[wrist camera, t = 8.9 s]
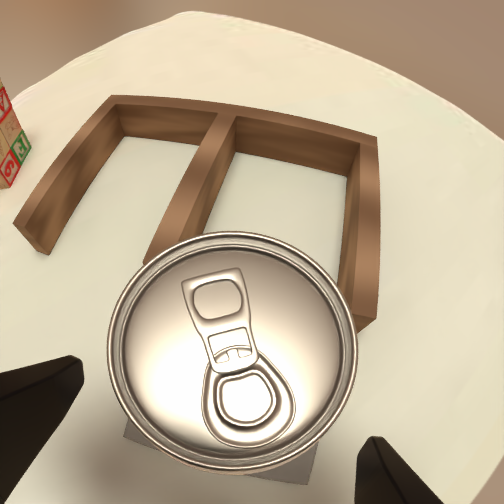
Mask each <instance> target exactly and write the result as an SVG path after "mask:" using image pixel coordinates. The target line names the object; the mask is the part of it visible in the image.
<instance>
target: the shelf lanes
mask: <svg viewBox="0 0 504 504" xmlns="http://www.w3.org/2000/svg"><path fill="white" fill-rule="evenodd" d="M124 136H132V137H141V138H150V139H158V140H166V141H173V142H181V143H188V144H194V145H200V146H199V148H198V150H197V151H196V153H195V155H194V157H193V159H192V161H191V163H190V165H189V166H188V168H187V170H186V172H185V174H184V176H183V178H182V180H181V182H180V184H179V186H178V188H177V190H176V192H175V194H174V196H173V198H172V200H171V202H170V204H169V206H168V208H167V210H166V212H165V214H164V216H163V218H162V220H161V222H160V224H159V227H158V229H157V231H156V233H155V235H154V237H153V240H152V242H151V244H150V246H149V248H148V251H147V253H146V255H145V257H144V260H143V262H142V263H143V264H146V263H147V262H148V261H149V260H150V259H151V258H153V257H154V256H155V255H157V254H158V253H160V252H161V251H163V250H164V249H166V248H168V247H170V246H171V245H173V244H175V243H178V242H180V241H182V240H185V239H188V238H190V237H194V236H197V235H201V234H202V233H203V230H204V228H205V225H206V222H207V220H208V217H209V215H210V212H211V210H212V207H213V205H214V202H215V200H216V197H217V195H218V192H219V190H220V188H221V185H222V183H223V180H224V178H225V176H226V173H227V171H228V168H229V166H230V164H231V161H232V159H233V157H234V154H235V152H241V153H247V154H252V155H257V156H262V157H267V158H272V159H276V160H281V161H285V162H290V163H294V164H299V165H303V166H307V167H312V168H316V169H320V170H324V171H328V172H332V173H336V174H339V175H343V176H347V185H346V200H345V214H344V226H343V236H342V247H341V256H340V265H339V274H338V282H337V286H338V287H339V289H340V290H341V292H342V294H343V295H344V297H345V299H346V301H347V303H348V305H349V308H350V310H351V313H352V316H353V319H354V323H355V327H356V332H357V333H359V332H360V331H361V330H362V329H364V328H365V327H366V326H368V325H369V324H370V323H371V322H373V321H374V320H375V319H376V316H377V304H378V289H379V270H380V180H379V161H378V146H377V137H375V136H372V135H368V134H365V133H362V132H358V131H355V130H351V129H347V128H344V127H340V126H336V125H332V124H328V123H324V122H320V121H316V120H312V119H307V118H303V117H298V116H294V115H289V114H284V113H279V112H274V111H268V110H263V109H257V108H251V107H245V106H239V105H232V104H225V103H217V102H209V101H201V100H191V99H181V98H169V97H154V96H133V95H111V96H110V97H109V98H108V99H107V100H106V101H105V102H104V103H103V104H102V105H101V106H100V107H99V108H98V109H97V110H96V112H95V113H94V114H93V115H92V116H91V117H90V118H89V119H88V120H87V122H86V123H85V124H84V125H83V126H82V127H81V128H80V130H79V131H78V132H77V133H76V134H75V136H74V137H73V138H72V139H71V140H70V142H69V143H68V144H67V145H66V147H65V148H64V149H63V150H62V152H61V153H60V154H59V156H58V157H57V158H56V159H55V161H54V162H53V163H52V165H51V166H50V167H49V169H48V170H47V172H46V173H45V174H44V176H43V177H42V179H41V180H40V181H39V183H38V184H37V186H36V187H35V189H34V190H33V192H32V193H31V195H30V196H29V198H28V199H27V201H26V202H25V204H24V205H23V207H22V209H21V210H20V212H19V214H18V215H17V217H16V218H15V220H14V222H13V224H14V225H15V227H16V228H17V229H18V230H19V231H20V232H21V234H22V235H23V236H24V237H25V238H26V239H27V240H28V242H29V243H30V244H31V245H32V246H33V247H34V248H35V249H36V250H37V251H38V252H41V253H44V254H47V255H49V254H50V252H51V250H52V248H53V247H54V245H55V243H56V241H57V239H58V237H59V235H60V234H61V232H62V230H63V228H64V227H65V225H66V223H67V221H68V220H69V218H70V216H71V214H72V213H73V211H74V209H75V208H76V206H77V204H78V203H79V201H80V200H81V198H82V196H83V195H84V193H85V192H86V190H87V189H88V187H89V185H90V184H91V182H92V181H93V179H94V178H95V176H96V175H97V173H98V172H99V170H100V169H101V167H102V166H103V165H104V163H105V162H106V160H107V159H108V157H109V156H110V155H111V153H112V152H113V151H114V149H115V148H116V146H117V145H118V144H119V142H120V141H121V140H122V138H123V137H124Z"/></svg>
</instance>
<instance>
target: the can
mask: <svg viewBox="0 0 504 504" xmlns="http://www.w3.org/2000/svg"><path fill="white" fill-rule="evenodd" d="M107 364H108V371H109V375H110V379H111V383H112V386H113V389H114V392H115V394H116V397H117V399H118V401H119V403H120V405H121V407H122V409H123V410H124V412H125V414H126V415H127V417H128V418H129V419H130V421H131V422H132V423H133V425H134V426H135V427H136V428H137V429H138V430H139V432H140V433H141V434H142V435H143V436H144V437H146V438H147V439H148V440H149V441H150V442H151V443H152V444H153V445H155V446H156V447H157V448H158V449H160V450H161V451H162V452H164V453H165V454H167V455H168V456H170V457H171V458H173V459H175V460H177V461H179V462H181V463H183V464H185V465H187V466H190V467H192V468H195V469H199V470H202V471H206V472H211V473H217V474H226V475H242V474H252V473H258V472H262V471H266V470H270V469H273V468H276V467H278V466H281V465H283V464H285V463H287V462H289V461H291V460H293V459H295V458H297V457H298V456H300V455H301V454H303V453H304V452H306V451H307V450H308V449H310V448H311V447H312V446H313V445H314V444H315V443H316V442H318V441H319V440H320V439H321V437H322V436H323V435H324V434H325V433H326V432H327V431H328V430H329V428H330V427H331V426H332V425H333V424H334V422H335V421H336V419H337V418H338V417H339V415H340V414H341V412H342V410H343V408H344V407H345V405H346V403H347V401H348V398H349V396H350V394H351V391H352V388H353V385H354V381H355V377H356V372H357V365H358V339H357V332H356V327H355V323H354V319H353V316H352V313H351V310H350V308H349V305H348V303H347V301H346V299H345V297H344V295H343V294H342V292H341V290H340V289H339V287H338V286H337V284H336V283H335V282H334V280H333V279H332V278H331V276H330V275H329V274H328V273H327V272H326V271H325V270H324V269H323V268H322V267H321V266H320V265H319V264H318V263H317V262H316V261H314V260H313V259H312V258H311V257H309V256H308V255H307V254H305V253H304V252H302V251H300V250H299V249H297V248H295V247H294V246H292V245H290V244H288V243H285V242H283V241H281V240H278V239H275V238H273V237H269V236H266V235H262V234H257V233H252V232H243V231H220V232H211V233H206V234H201V235H197V236H194V237H190V238H188V239H185V240H182V241H180V242H178V243H175V244H173V245H171V246H170V247H168V248H166V249H164V250H163V251H161V252H160V253H158V254H157V255H155V256H154V257H153V258H151V259H150V260H149V261H148V262H147V263H146V264H144V265H143V266H142V267H141V268H140V269H139V270H138V272H137V273H136V274H135V275H134V276H133V277H132V279H131V280H130V281H129V283H128V284H127V285H126V287H125V289H124V290H123V292H122V294H121V295H120V297H119V299H118V301H117V304H116V306H115V308H114V311H113V314H112V317H111V321H110V325H109V330H108V336H107Z"/></svg>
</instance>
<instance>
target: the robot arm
mask: <svg viewBox="0 0 504 504" xmlns="http://www.w3.org/2000/svg"><path fill="white" fill-rule="evenodd" d="M83 384H84V372H83V363H82V361H81V360H80V359H79V358H77V357H75V356H72V355H68V356H65V357H61V358H57V359H53V360H50V361H46V362H42V363H38V364H34V365H30V366H27V367H23V368H19V369H15V370H10V371H6V372H2V373H0V504H4V503H5V502H6V500H7V498H8V497H9V495H10V494H11V492H12V491H13V489H14V488H15V487H16V485H17V484H18V482H19V481H20V479H21V478H22V476H23V475H24V473H25V472H26V470H27V469H28V468H29V466H30V465H31V463H32V462H33V460H34V459H35V458H36V456H37V455H38V453H39V452H40V451H41V449H42V448H43V446H44V445H45V444H46V442H47V441H48V439H49V438H50V437H51V435H52V434H53V433H54V431H55V430H56V429H57V427H58V426H59V424H60V423H61V422H62V420H63V419H64V417H65V416H66V414H67V412H68V410H69V409H70V407H71V405H72V403H73V402H74V400H75V398H76V396H77V395H78V393H79V391H80V390H81V388H82V386H83ZM354 502H355V504H444V503H443V502H442V501H441V500H440V499H439V498H438V497H437V496H436V495H435V494H434V493H433V491H432V490H431V489H430V488H429V487H428V486H427V485H426V484H425V483H424V482H423V481H422V480H421V478H420V477H419V476H418V475H417V474H416V473H415V472H414V471H413V470H412V469H411V467H410V466H409V465H408V464H407V463H406V462H405V461H404V460H403V459H402V458H401V456H400V455H399V454H398V453H397V452H396V451H395V450H394V449H393V448H392V446H391V445H390V444H389V443H388V442H387V441H386V440H385V439H384V438H383V437H378V436H371V437H369V438H368V439H367V441H366V442H365V444H364V445H363V447H362V448H361V450H360V451H359V453H358V456H357V467H356V483H355V498H354Z"/></svg>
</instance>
